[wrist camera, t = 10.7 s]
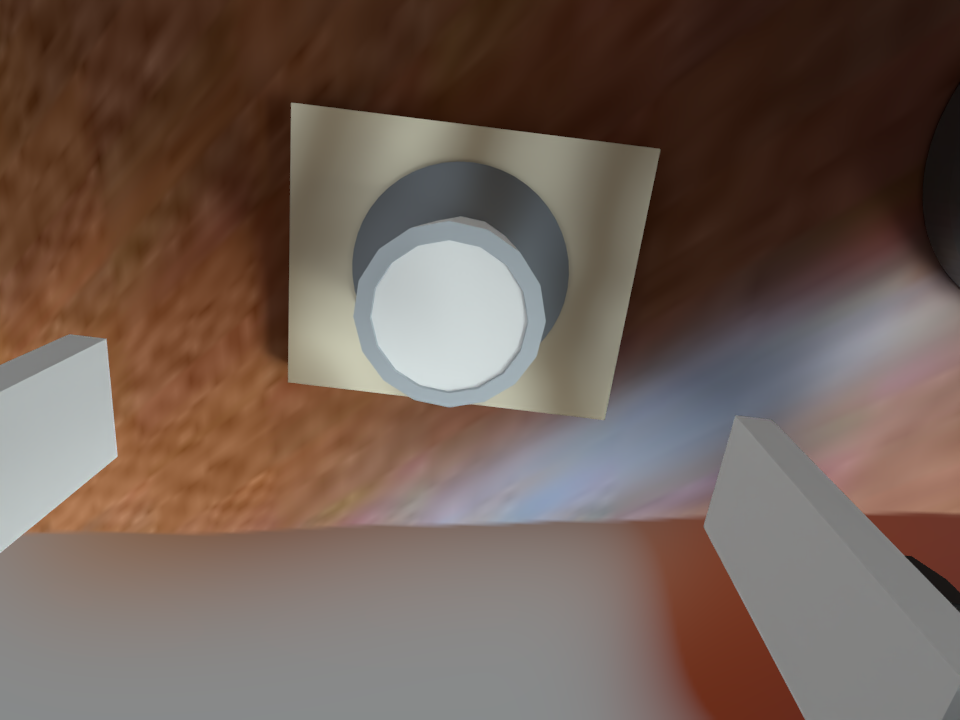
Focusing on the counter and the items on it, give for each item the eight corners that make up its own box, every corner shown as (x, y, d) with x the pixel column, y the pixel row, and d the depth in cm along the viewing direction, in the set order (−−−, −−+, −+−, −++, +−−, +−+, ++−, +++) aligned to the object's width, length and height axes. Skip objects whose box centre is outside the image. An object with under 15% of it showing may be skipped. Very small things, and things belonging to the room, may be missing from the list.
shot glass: (388, 346, 29) (357, 406, 23) (384, 200, 27) (347, 219, 21) (531, 350, 29) (541, 411, 23) (538, 203, 27) (551, 223, 20)
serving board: (649, 148, 28) (662, 149, 26) (598, 403, 33) (605, 422, 30) (305, 105, 28) (288, 102, 26) (300, 368, 32) (285, 384, 30)
